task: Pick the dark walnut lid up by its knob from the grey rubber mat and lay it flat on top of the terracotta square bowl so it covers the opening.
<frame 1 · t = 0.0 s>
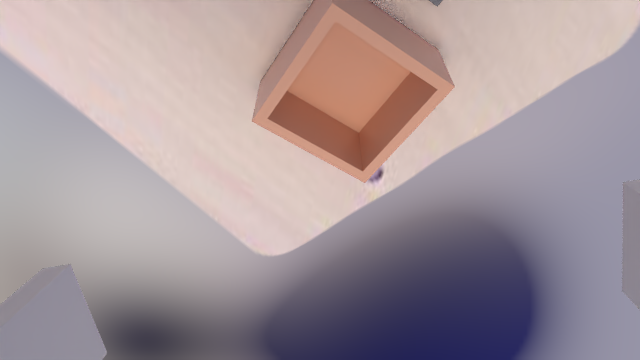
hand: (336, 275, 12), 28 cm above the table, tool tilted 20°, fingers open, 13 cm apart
square bowl: (347, 66, 38), on the table
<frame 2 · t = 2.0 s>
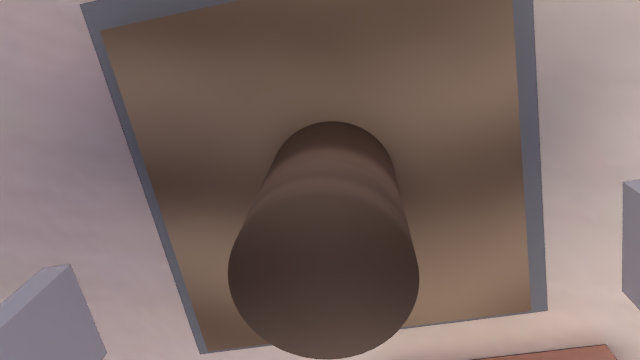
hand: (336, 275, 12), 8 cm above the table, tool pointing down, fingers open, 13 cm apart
walnut lid: (333, 170, 18), resting on rubber mat
rubber mat: (334, 166, 19), on the table
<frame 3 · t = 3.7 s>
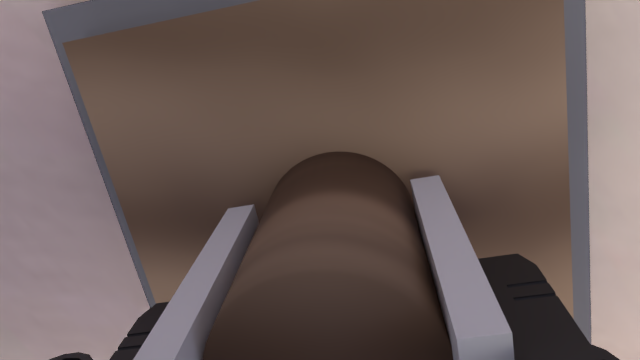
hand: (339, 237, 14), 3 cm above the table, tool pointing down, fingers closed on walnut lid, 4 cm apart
walnut lid: (341, 206, 16), resting on rubber mat, touching gripper
rubber mat: (342, 200, 16), on the table
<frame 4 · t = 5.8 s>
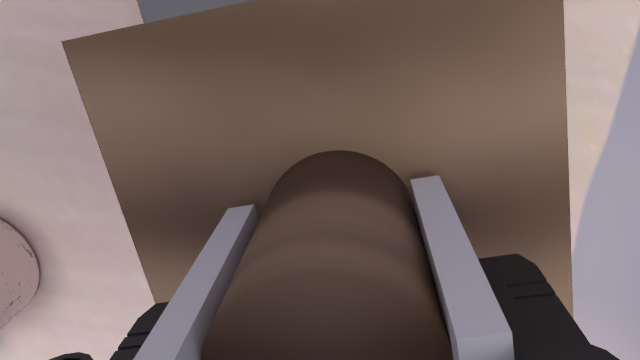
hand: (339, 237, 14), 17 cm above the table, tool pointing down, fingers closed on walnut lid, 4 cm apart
walnut lid: (341, 205, 16), point 15 cm above the table, touching gripper
when the fingers open (10 cm above the table, at t = 8.2 s): walnut lid drops 1 cm, resting on square bowl.
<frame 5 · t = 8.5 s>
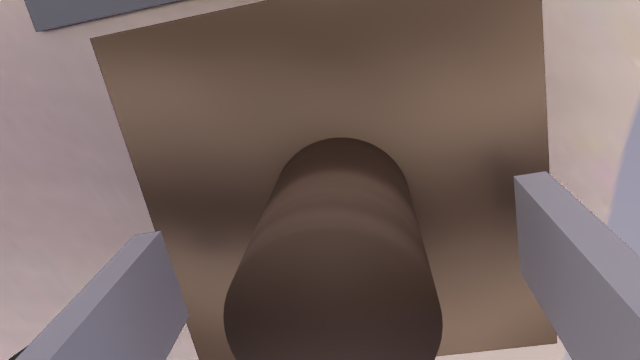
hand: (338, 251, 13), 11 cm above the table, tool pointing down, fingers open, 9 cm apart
walnut lid: (342, 189, 17), point 6 cm above the table, touching square bowl
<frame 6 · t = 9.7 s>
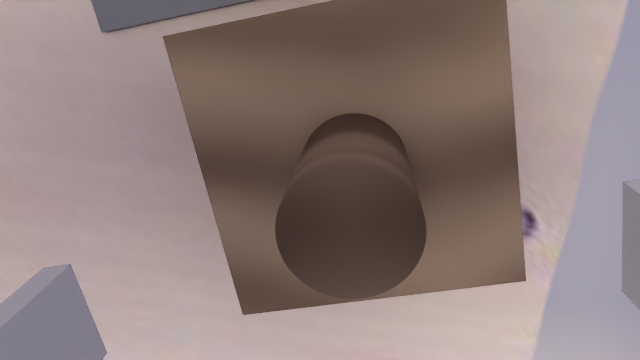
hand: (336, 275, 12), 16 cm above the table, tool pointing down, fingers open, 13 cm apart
walnut lid: (354, 156, 21), point 6 cm above the table, touching square bowl
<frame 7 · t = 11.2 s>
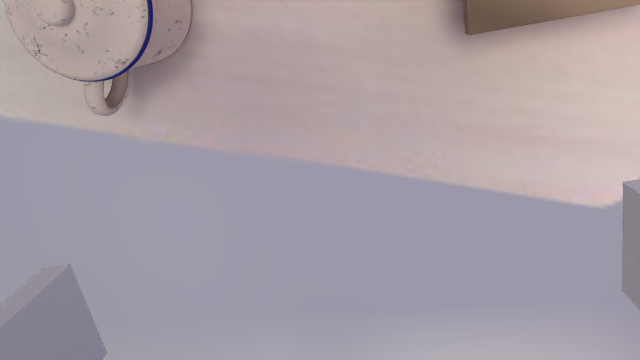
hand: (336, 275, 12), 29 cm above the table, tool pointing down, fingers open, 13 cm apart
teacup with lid: (139, 25, 38), on the table
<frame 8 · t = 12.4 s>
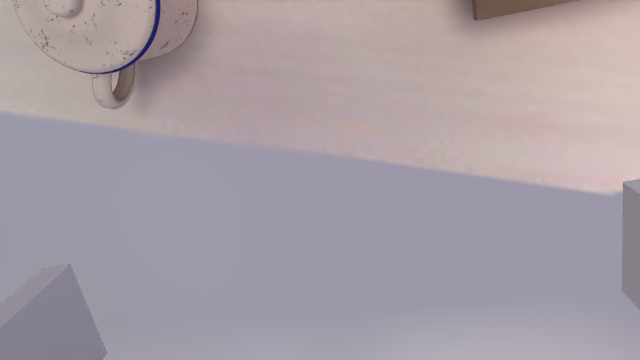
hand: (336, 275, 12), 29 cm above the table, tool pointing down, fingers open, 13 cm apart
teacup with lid: (144, 18, 38), on the table
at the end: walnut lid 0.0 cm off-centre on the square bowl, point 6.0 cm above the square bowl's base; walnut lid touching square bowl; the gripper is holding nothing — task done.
